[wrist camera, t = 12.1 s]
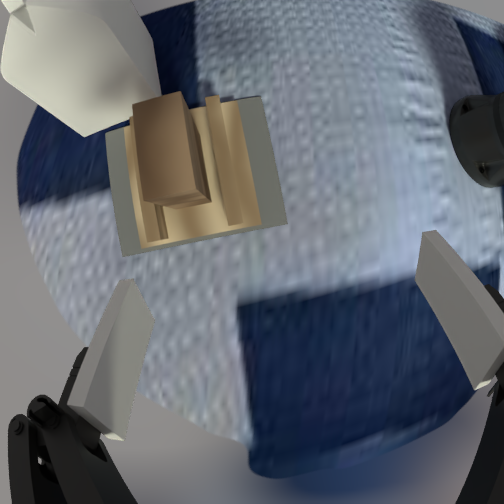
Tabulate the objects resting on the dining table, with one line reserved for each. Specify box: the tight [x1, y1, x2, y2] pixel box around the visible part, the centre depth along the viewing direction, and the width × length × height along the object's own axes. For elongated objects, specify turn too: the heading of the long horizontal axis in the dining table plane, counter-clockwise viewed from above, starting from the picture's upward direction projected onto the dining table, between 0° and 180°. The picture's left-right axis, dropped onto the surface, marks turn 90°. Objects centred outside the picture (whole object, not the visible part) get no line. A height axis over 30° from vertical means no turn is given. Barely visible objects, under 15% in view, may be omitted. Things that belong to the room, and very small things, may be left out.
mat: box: [105, 96, 288, 257], centre depth 33 cm, size 20×16×1 cm
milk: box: [1, 0, 162, 137], centre depth 19 cm, size 12×12×26 cm
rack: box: [124, 95, 262, 249], centre depth 31 cm, size 14×15×4 cm
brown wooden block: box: [132, 91, 212, 210], centre depth 26 cm, size 4×8×12 cm, turn 11°
